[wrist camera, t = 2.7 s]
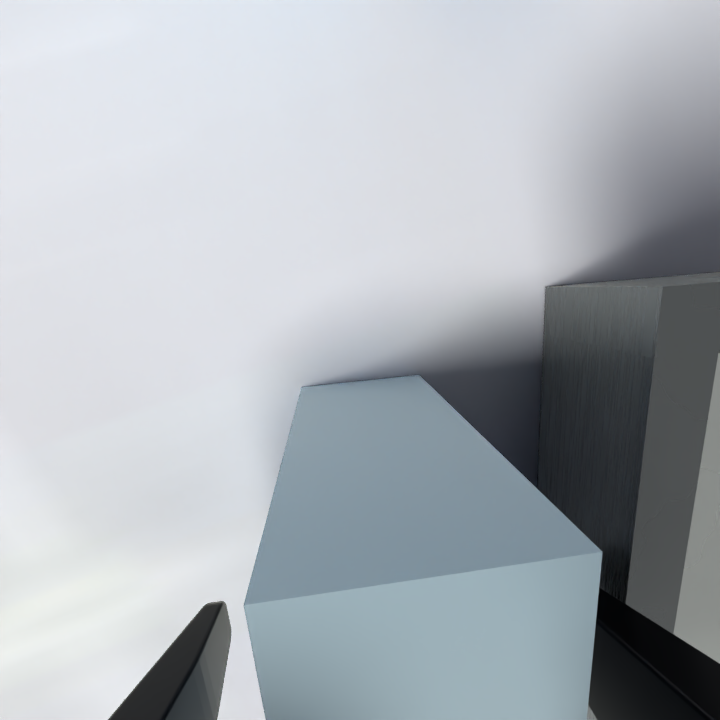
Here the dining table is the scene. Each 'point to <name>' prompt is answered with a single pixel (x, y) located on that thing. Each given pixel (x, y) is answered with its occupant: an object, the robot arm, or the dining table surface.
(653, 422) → the frame
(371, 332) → the dining table surface
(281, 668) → the block
